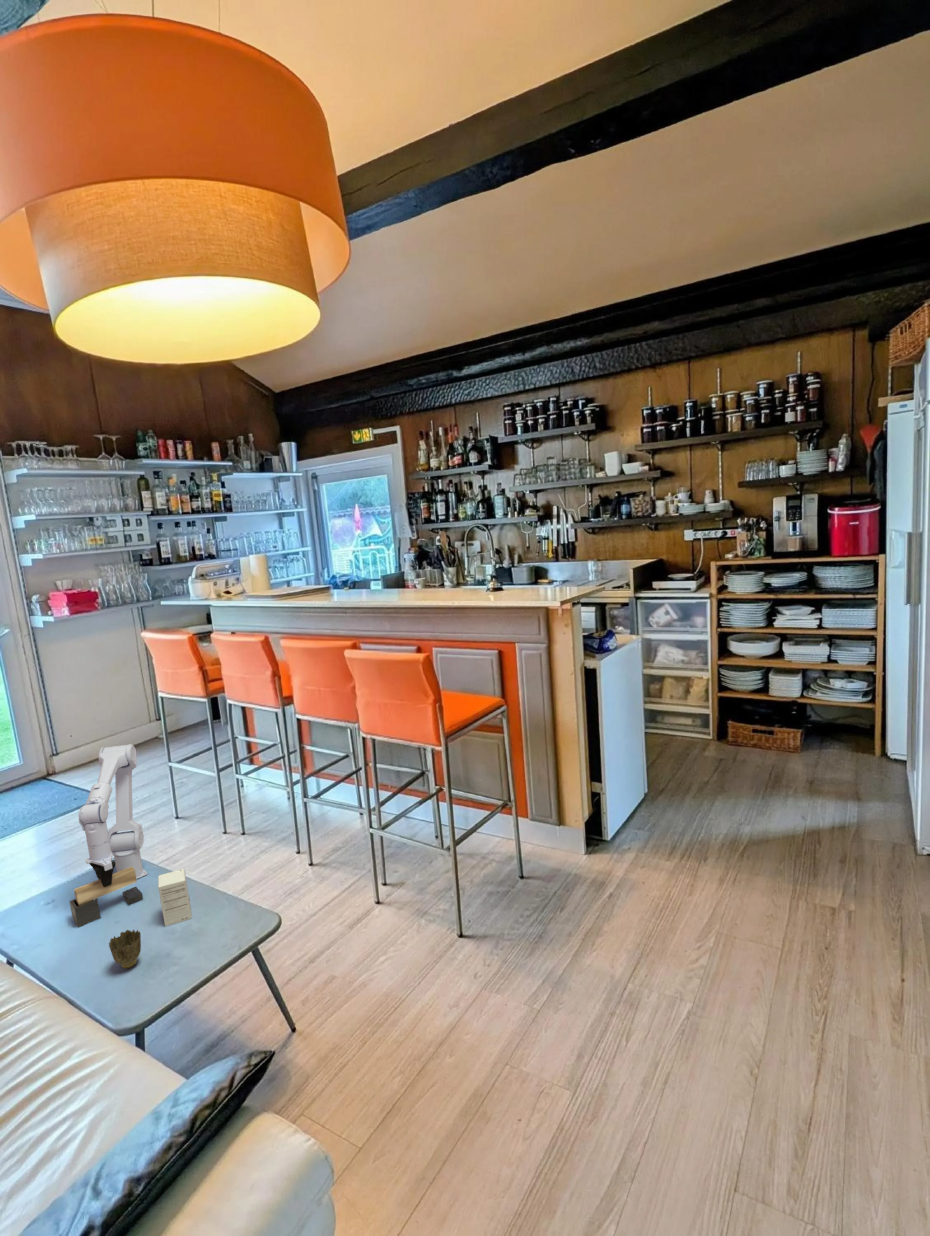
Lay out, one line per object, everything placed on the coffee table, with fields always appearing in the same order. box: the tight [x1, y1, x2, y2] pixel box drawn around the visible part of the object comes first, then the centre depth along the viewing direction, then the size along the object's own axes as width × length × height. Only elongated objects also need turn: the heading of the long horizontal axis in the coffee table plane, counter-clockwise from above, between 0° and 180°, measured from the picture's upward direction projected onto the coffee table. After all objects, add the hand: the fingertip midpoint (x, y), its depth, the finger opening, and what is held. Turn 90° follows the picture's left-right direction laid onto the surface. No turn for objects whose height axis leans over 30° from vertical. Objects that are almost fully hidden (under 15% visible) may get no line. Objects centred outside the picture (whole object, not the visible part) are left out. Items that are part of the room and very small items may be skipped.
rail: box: [73, 867, 138, 905], centre depth 195 cm, size 3×16×4 cm, turn 134°
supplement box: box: [157, 868, 192, 927], centre depth 189 cm, size 7×7×13 cm
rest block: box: [122, 886, 144, 906], centre depth 201 cm, size 6×4×2 cm, turn 44°
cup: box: [108, 929, 142, 970], centre depth 169 cm, size 8×7×8 cm
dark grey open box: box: [69, 898, 101, 928], centre depth 192 cm, size 6×6×6 cm
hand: (105, 883), depth 195 cm, fingers closed on rail, 3 cm apart
